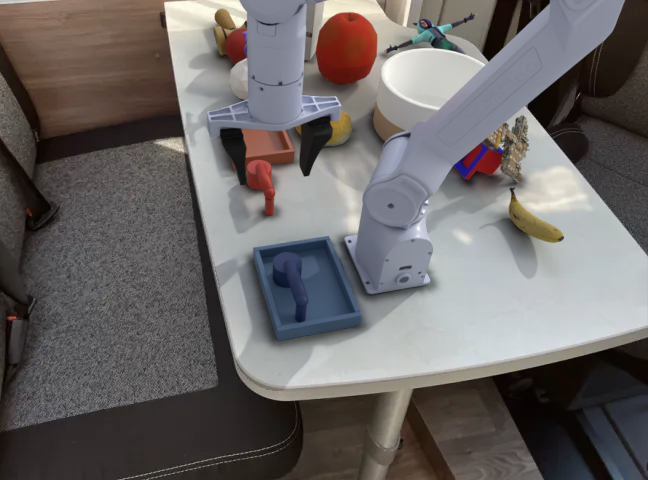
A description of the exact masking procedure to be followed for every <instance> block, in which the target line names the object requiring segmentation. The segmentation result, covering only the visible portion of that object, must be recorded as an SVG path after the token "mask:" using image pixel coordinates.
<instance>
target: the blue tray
mask: <svg viewBox="0 0 648 480" xmlns="http://www.w3.org/2000/svg"><path fill="white" fill-rule="evenodd" d="M330 237H331V236H330V235H326V236H318V237H311V238H306V239H299V240H293V241H287V242H280V243H273V244H267V245H261V246H254V247H253V248H252V259H253V262H254V266H255V269H256V272H257V276H258V279H259V282H260V286H261V289H262V293H263V296H264V301H265V303H266V307H267V310H268V314H269V317H270V321H271V324H272V327H273V328H272V329H273V331H274V334H275V338H276V341H277V342H279V341H284V340H289V339H295V338H300V337H305V336H311V335H316V334H317V335H318V334H322V333H328V332H332V331H338V330H342V329H348V328H354V327H358V326H361V324H362V323H361V322H362V317H363V314H362V312H361V309H360V307H359V305H358V301H357V299H356V297H355V294H354V292H353V289H352V287H351V285H350V283H349V281H348V278H347V276H346V273H345V271H344V268H343V265H342V263H341V261H340V258H339V257H338V254H337V252H336V249H335V246H334V244H333V242H332V239H331V238H330ZM283 252H291V253H294V254H296V255H298V256H299V257H300V258H301V260H302V272H301V278H302V281H303V284H304V287H305V290H306V293H307V295H308V298H309V302H308V304H307V310H306V319H305V321H304V322H297V321H296V320H295V311H296V303H295V300H294V297H293V294H292V291H291V288H283V287H280V286H278V285H277V284H276V283H275V282H274V281H273V259H274V258H275V257H276V256H277V255H278V254H280V253H283Z"/></svg>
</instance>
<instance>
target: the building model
mask: <svg viewBox="0 0 648 480" xmlns="http://www.w3.org/2000/svg"><path fill="white" fill-rule="evenodd" d="M514 122H515V123H514V126H512V127H511V130H510V129H509V127H510V124H509V123H507V121H506V122H505V123H504V124H503V125H502V126H500V127H499V128H498V129H497V130H496V131H494V132H493V133H492V134H491V135H489V136H488V137H487V138H486V139H485V140H483V141H482V143H483V144H484V145H485V146H486V147H487V148H488V149H489V150H497V149H498V147H500V148H501V150H503V154H502V158H501V160H502V163H501V165H500V168H499V169H500V171H501V174H504V175H505V176H507V177H508V178H510V179H511V180H512V181H513V182H514V183H515V184H520V182H522V180H523V175H522V173H521V171H522V163H520V162H521V161H523V160H524V159H525V158H526V157H527V152H529V151H531V149H530V148H529V147H530V143H529V139H528V136H527V135H528V132H529V130H528V129H529V124H528V120H527V117H526V116H525V115H524V114H522V115H519V116H518V117H516V118H515V121H514ZM500 148H499V149H500Z"/></svg>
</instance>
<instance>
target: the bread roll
mask: <svg viewBox="0 0 648 480" xmlns="http://www.w3.org/2000/svg"><path fill="white" fill-rule="evenodd" d="M330 124H331V126H332V128H333V134H332V138H331V139H330V140H329V141H328V142H327V143H326V144H325V146H324V147H335V146H340V145H342V144H345V143H346V142H347V141H348V139H350V137H351V135H352V132H353V127H354V126H353V121H352V118H351V116H350V115H349V114H348V113H347V112H346V111H343V110H341V115H340V120H339V121H330ZM294 128H295V130H296V132H297V133H298V134H299V136H301V125H298V126H296V127H294ZM324 147H323V148H324Z"/></svg>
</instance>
